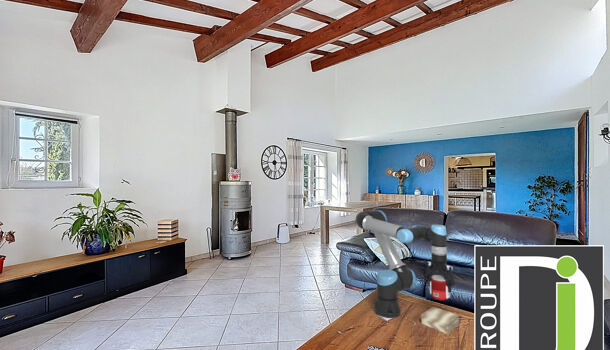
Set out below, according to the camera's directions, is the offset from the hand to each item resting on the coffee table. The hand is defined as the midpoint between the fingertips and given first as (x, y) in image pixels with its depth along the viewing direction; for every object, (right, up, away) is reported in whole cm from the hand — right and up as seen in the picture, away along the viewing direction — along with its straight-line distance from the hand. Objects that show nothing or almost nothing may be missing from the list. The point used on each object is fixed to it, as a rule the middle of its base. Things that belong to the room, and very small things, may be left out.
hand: (439, 295), depth 154 cm
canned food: (0, -1, 0) cm, 1 cm away
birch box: (0, -16, 0) cm, 16 cm away
